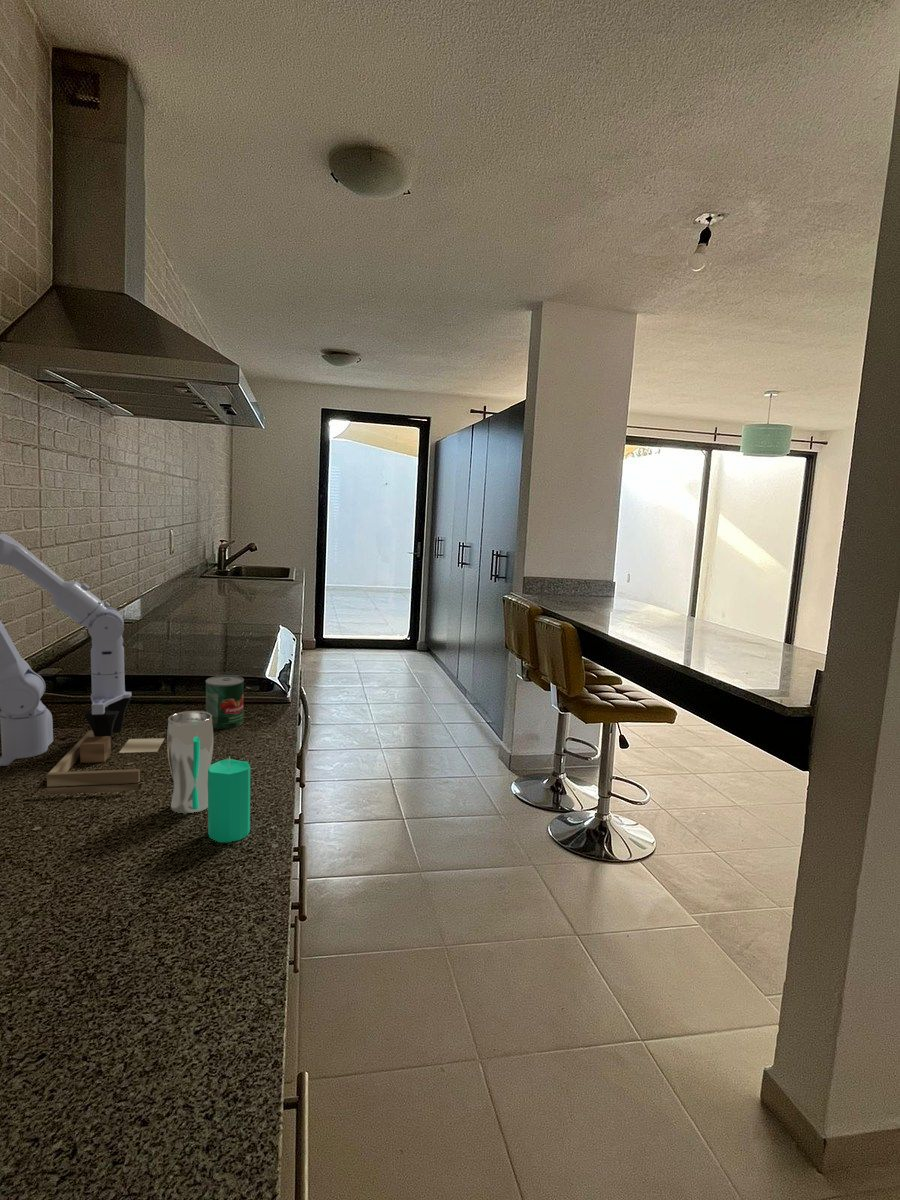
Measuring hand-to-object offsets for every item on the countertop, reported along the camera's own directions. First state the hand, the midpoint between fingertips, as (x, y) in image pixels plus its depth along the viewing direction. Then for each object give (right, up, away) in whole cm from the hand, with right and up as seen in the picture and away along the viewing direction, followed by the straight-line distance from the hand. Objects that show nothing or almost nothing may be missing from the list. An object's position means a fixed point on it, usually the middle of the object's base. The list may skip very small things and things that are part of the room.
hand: (109, 739), depth 129 cm
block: (+1, -2, -8) cm, 8 cm away
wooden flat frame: (+5, -3, -7) cm, 9 cm away
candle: (+33, -8, -30) cm, 45 cm away
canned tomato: (+17, -1, +15) cm, 23 cm away
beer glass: (+24, -7, -22) cm, 33 cm away
